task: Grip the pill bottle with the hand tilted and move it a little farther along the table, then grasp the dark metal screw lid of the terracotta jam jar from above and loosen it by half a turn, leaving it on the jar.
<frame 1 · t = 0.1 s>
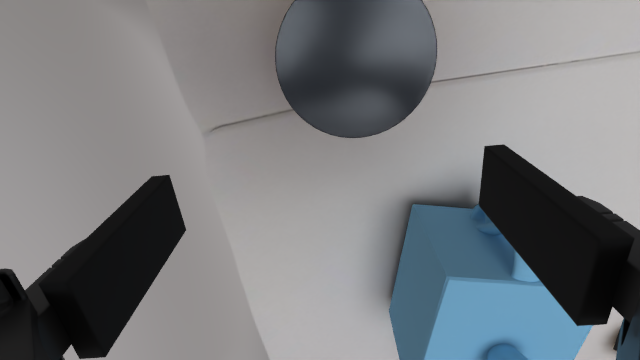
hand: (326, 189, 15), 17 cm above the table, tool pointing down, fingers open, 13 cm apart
jam lid: (355, 60, 20), point 9 cm above the table, screwed on, not yet turned
teapot: (445, 267, 38), on the table
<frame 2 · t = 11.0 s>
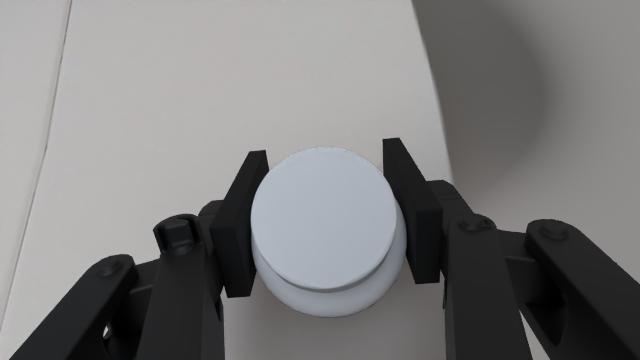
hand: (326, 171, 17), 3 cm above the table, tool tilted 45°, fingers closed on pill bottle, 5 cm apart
pill bottle: (335, 260, 19), on the table, touching gripper
when the fingers open (3 cm above the table, at t = 18.4 s): pill bottle stays where it is, on the table.
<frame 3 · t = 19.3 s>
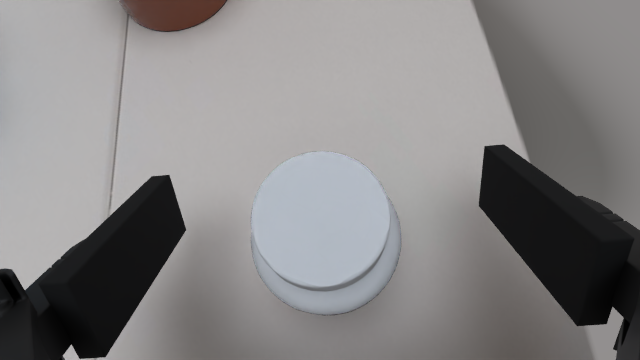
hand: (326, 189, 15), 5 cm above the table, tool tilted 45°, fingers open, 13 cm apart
pill bottle: (333, 260, 19), on the table
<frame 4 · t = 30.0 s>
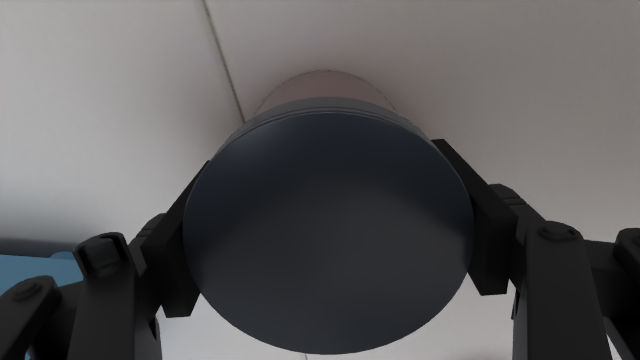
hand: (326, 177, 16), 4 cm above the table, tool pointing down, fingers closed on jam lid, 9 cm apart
jam lid: (328, 246, 11), point 9 cm above the table, screwed on, not yet turned, touching gripper
teapot: (8, 300, 25), on the table
jam jar: (325, 149, 20), on the table
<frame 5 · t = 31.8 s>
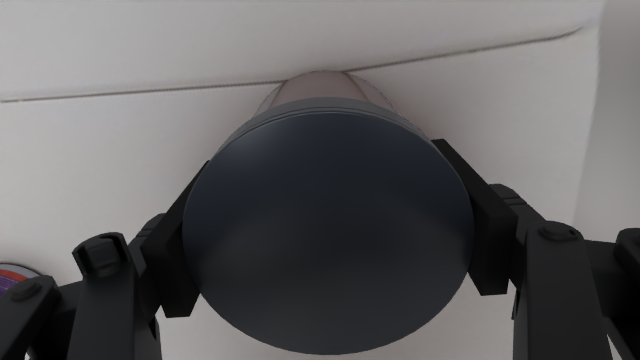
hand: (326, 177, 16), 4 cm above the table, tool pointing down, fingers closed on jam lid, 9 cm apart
jam lid: (327, 246, 11), point 9 cm above the table, turned 94° so far, risen 0.1 cm, still on its thread, touching gripper
jam jar: (325, 148, 20), on the table
pill bottle: (22, 291, 24), on the table
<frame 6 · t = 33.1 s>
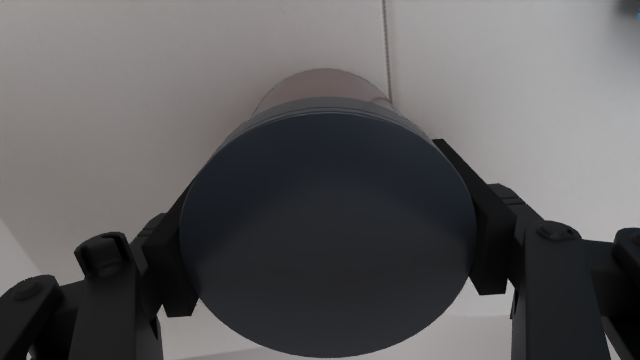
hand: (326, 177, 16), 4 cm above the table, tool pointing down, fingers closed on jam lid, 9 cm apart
jam lid: (327, 248, 11), point 9 cm above the table, turned 180° so far, risen 0.2 cm, still on its thread, touching gripper
jam jar: (324, 147, 20), on the table
when the fingers open (4 cm above the table, at t = 33.4 s): jam lid stays where it is, point 9 cm above the table.
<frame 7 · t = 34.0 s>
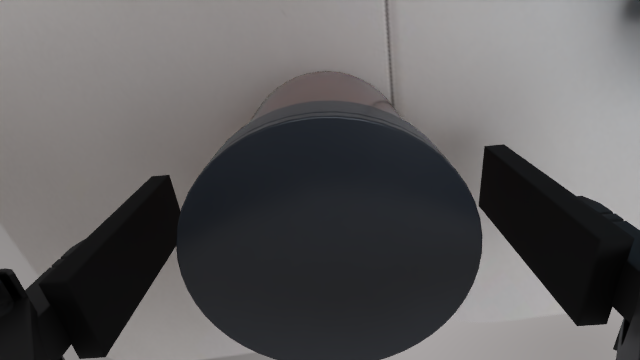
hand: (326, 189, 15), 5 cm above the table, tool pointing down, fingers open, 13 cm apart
jam lid: (328, 256, 11), point 9 cm above the table, turned 180° so far, risen 0.2 cm, still on its thread
jam jar: (326, 150, 19), on the table
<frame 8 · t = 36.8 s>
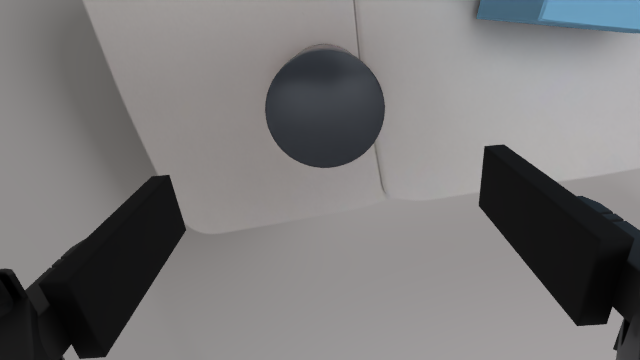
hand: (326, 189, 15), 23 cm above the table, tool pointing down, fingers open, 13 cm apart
jam lid: (324, 111, 27), point 9 cm above the table, turned 180° so far, risen 0.2 cm, still on its thread
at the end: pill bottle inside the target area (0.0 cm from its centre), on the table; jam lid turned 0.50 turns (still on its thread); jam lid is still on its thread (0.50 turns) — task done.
